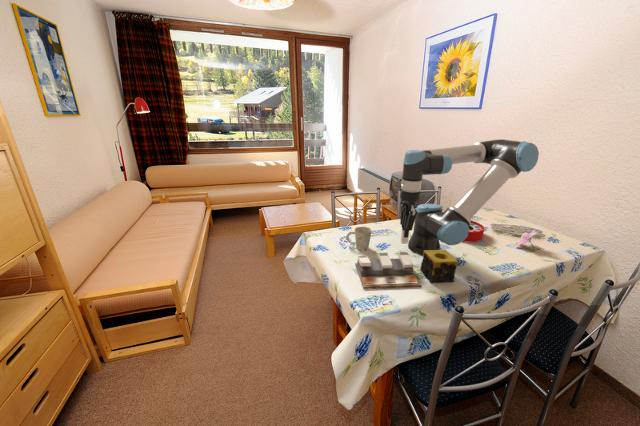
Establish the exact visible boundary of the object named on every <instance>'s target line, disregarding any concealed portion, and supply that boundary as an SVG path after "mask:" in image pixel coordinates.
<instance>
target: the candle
mask: <svg viewBox="0 0 640 426" xmlns="http://www.w3.org/2000/svg"><path fill="white" fill-rule="evenodd" d="M458 263H459V262H458V259H456V258H455V257H454V256H453V255H452V254H450V252H448V251H447V250H446V249H440V250H424V251H423V254H422V260H421V263H420V269H419V271H420V272H421V273H422V274H423V276H424V277H425V278H426V279H427V280H428V282H429V283H430V284H442V283H454V282H455V277H456V276H455V274H456V270H457V267H458Z"/></svg>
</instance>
